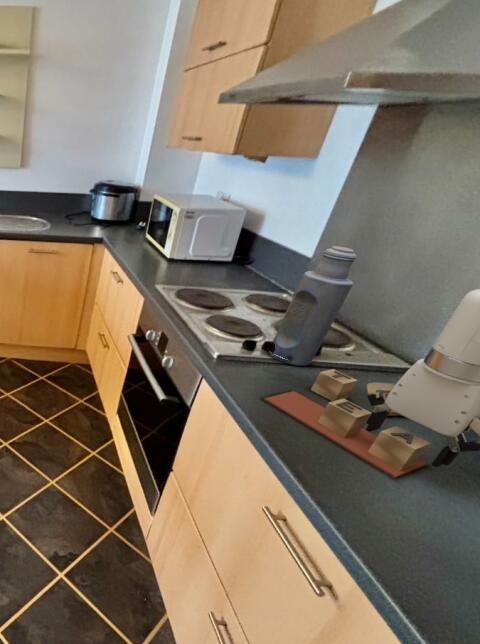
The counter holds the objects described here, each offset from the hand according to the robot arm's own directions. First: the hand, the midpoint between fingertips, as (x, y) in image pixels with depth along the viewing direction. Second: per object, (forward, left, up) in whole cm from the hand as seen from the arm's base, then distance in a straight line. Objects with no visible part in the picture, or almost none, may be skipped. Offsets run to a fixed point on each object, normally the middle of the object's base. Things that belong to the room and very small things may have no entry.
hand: (403, 446), depth 75 cm
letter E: (+9, 0, -3) cm, 10 cm away
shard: (+8, -23, -4) cm, 24 cm away
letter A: (0, +1, -3) cm, 3 cm away
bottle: (+33, -22, -4) cm, 40 cm away
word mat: (+9, 0, -4) cm, 10 cm away
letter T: (+18, -13, -4) cm, 22 cm away
